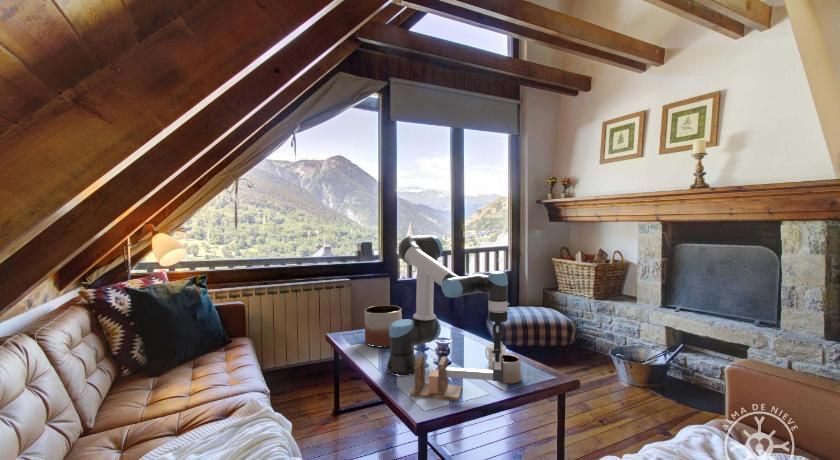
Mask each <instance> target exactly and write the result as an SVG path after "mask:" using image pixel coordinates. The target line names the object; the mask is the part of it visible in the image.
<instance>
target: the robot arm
mask: <svg viewBox="0 0 840 460" xmlns="http://www.w3.org/2000/svg"><path fill="white" fill-rule="evenodd" d="M398 245H399V246H398V248H397V250H398V256H399V257H400V259H401V260H402V261H403V263H405V264H407V265H409V266H413V267H414V268H416V296H415V297H416V299H415V300H416V301H415V305H416V306H415V312H414V314H413V316H412V319H407V318H406V319H405V318H404V319H402V320H398V321H395V322H393V323H392V324H391V325H390V329H389V336H390V347H389V357H388V361H387V364H386V372H387V371H389V372H390V373H393V374H398V375H407V376H410V375H409V374H411V375H414V374H415V372H414V363H415V361H416V360H417V358H416V355H415V346H419V345H424V344H427V343H431V342H433V341H435V340H438V338H439V337H440V335H441V330H442V329H441V327H442V326H441V323H440V320H439V319H438V318H437V315H436V314H435V313H434V300H435V299H434V295H435V294H434V289H435V286H434V285H435V283H436V284H437V285H439V286H441V291H442V293H443V295H444V296H445V297H446V298H458V297H462V296H467V295H473V294H478V293H481V294H485V295H487V296H488V307H487V309H488V320H489V321H490V322H494V323H493V325H492V330H493V344H494V351H492V353H494V369H495V370H501V357H502V345H503V341H504V340H505V338H504V337H503V331H504V324H503V323H505V322H507V321H508V319H509V317H508V316H509V315H508V314H509V313H508V310H509V309H508V306H510V303H509V302H508V289H509V288H508V287H509V286H508V285H509V281H508V274H507V272H505V271H502V270H500V271H498V270H497V271H496V270H494V271H489V272H488V274H481V273H478V272H475V273H474V272H471V273H468V274H467V275H464V276H459V275H458V274H456V273H455V272H453V271H452V270H450V269H448V268H447V267H446V266H444V265H443V264H441V263H440V262H438V259H439V258H441V256H442V255H443V251H444V248H443V243H442V242H441V240H440V238H439V237H438V236H436V235H434V234H433V235H431V234H423V235H422V234H421V235H409V236H407V237H404V238H403V239H402V240H401V241H400V243H399V244H398ZM413 373H414V374H413Z"/></svg>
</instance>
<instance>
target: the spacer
mask: <svg viewBox="0 0 840 460" xmlns="http://www.w3.org/2000/svg"><path fill="white" fill-rule="evenodd" d="M428 383H429V393H436V394H439V379H438V369H432V370H431V371H430V373H429V375H428Z"/></svg>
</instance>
